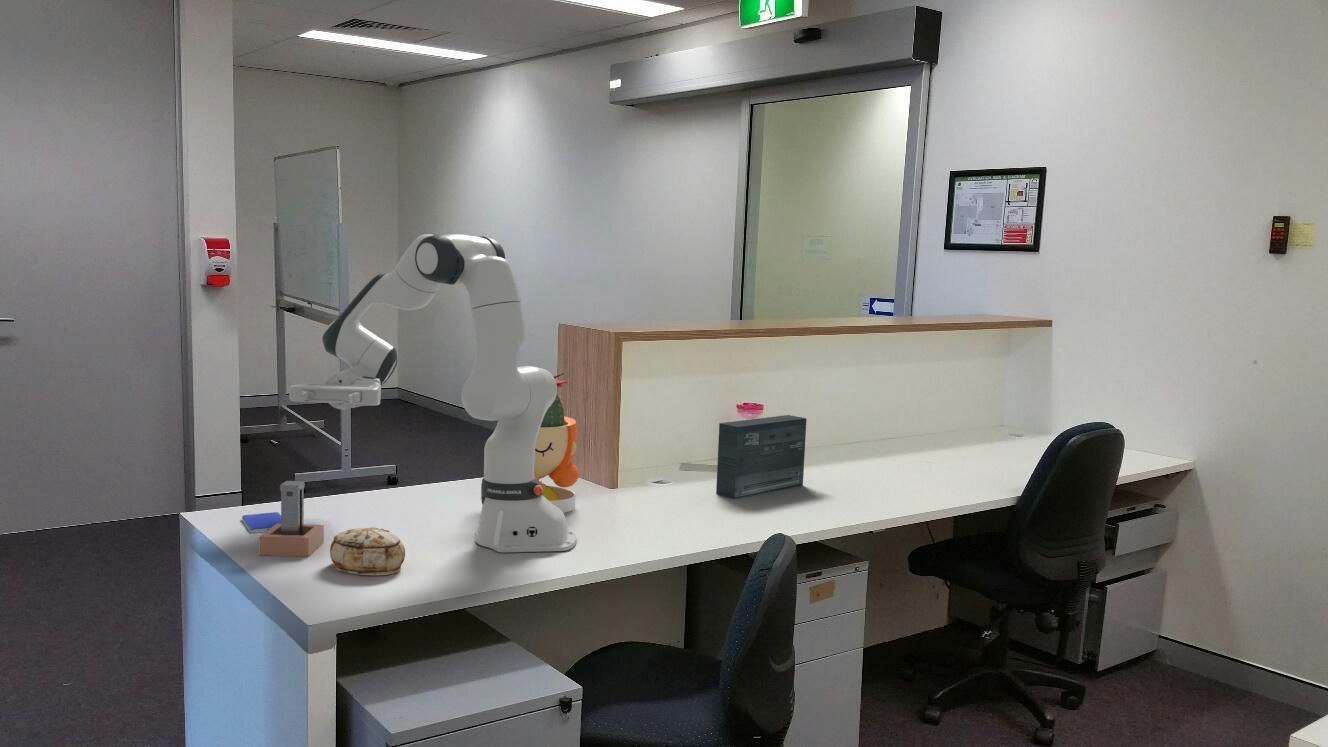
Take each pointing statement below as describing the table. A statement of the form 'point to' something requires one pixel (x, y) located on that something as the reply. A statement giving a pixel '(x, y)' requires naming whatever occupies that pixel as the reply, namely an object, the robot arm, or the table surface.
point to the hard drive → (261, 521)
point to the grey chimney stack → (292, 508)
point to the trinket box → (367, 552)
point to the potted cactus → (557, 454)
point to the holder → (291, 541)
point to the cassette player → (760, 455)
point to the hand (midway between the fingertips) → (325, 398)
